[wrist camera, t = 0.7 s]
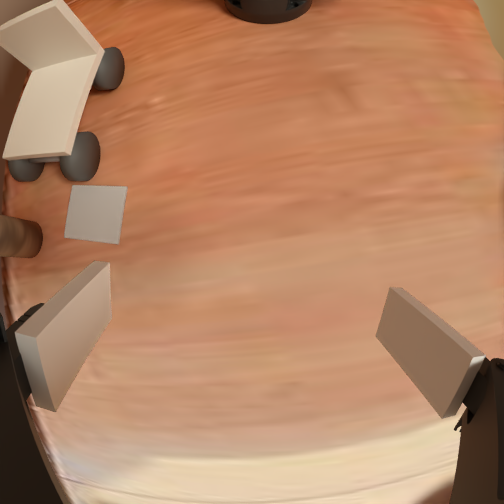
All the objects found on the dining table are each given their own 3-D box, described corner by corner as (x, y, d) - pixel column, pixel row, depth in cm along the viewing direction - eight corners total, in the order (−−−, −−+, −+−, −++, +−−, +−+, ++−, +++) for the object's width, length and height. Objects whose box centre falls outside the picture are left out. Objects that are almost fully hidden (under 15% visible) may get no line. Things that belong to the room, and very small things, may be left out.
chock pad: (73, 185, 42) (72, 185, 42) (127, 187, 41) (126, 186, 41) (65, 237, 42) (63, 237, 41) (119, 244, 41) (118, 244, 40)
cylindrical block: (22, 220, 43) (-20, 211, 33) (44, 222, 42) (2, 213, 32) (17, 255, 42) (-25, 252, 32) (40, 260, 42) (-4, 257, 32)
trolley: (64, 73, 44) (1, 16, 23) (128, 62, 42) (70, -16, 22) (31, 185, 43) (-59, 153, 22) (94, 186, 42) (-5, 140, 21)
